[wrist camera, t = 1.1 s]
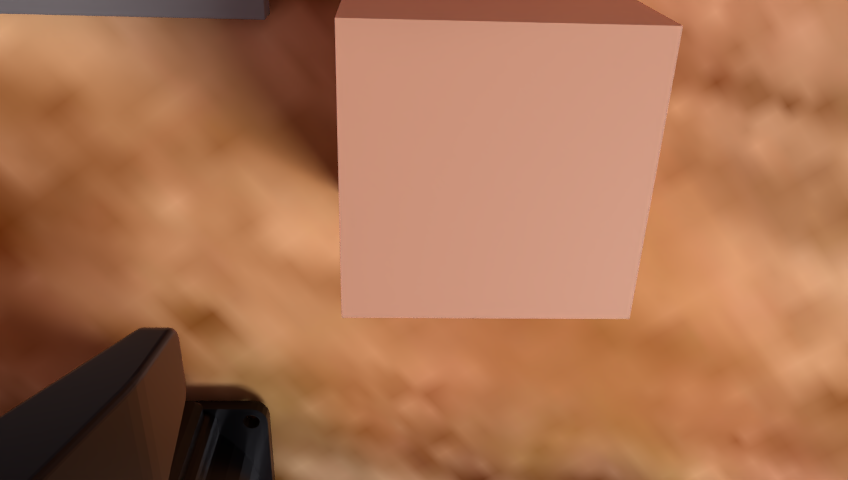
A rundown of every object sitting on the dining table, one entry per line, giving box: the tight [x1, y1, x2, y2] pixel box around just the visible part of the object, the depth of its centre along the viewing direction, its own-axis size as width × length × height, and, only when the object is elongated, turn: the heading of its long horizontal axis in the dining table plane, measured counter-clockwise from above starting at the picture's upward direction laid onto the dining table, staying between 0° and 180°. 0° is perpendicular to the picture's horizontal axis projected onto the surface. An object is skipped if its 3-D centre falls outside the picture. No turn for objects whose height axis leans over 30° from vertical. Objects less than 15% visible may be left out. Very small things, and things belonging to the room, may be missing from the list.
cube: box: [335, 0, 683, 319], centre depth 17 cm, size 6×6×6 cm
